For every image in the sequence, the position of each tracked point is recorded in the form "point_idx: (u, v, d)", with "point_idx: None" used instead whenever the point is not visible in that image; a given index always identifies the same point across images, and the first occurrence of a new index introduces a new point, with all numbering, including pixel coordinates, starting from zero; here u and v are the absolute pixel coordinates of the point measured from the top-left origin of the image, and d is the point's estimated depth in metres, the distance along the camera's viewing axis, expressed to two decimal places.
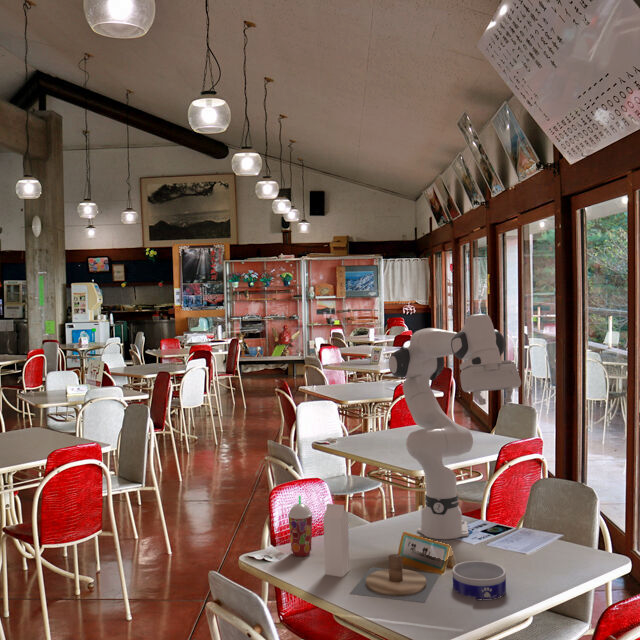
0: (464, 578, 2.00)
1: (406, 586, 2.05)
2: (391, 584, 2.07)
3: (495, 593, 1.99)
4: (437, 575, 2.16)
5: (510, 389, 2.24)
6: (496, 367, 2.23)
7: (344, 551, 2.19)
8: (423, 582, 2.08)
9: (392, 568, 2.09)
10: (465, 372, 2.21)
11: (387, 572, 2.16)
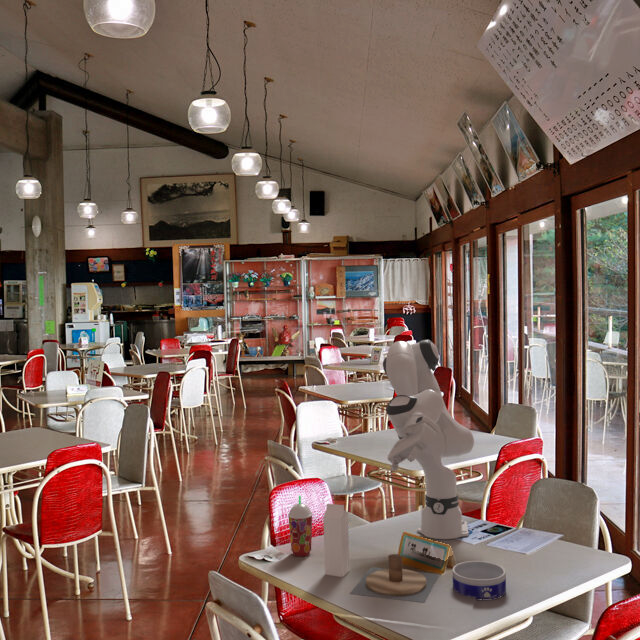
0: (464, 578, 2.00)
1: (406, 586, 2.05)
2: (391, 583, 2.07)
3: (495, 593, 1.99)
4: (437, 575, 2.16)
5: None
6: None
7: (344, 551, 2.19)
8: (423, 582, 2.08)
9: (392, 568, 2.09)
10: (434, 431, 2.13)
11: (387, 572, 2.16)
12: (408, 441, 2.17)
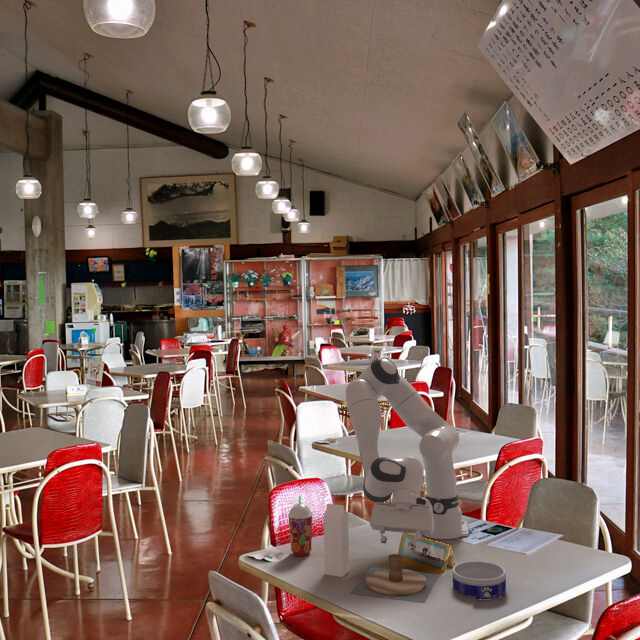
0: (464, 578, 2.00)
1: (406, 586, 2.05)
2: (391, 583, 2.07)
3: (495, 593, 1.99)
4: (437, 575, 2.16)
5: None
6: None
7: (344, 551, 2.19)
8: (423, 582, 2.08)
9: (392, 568, 2.09)
10: (433, 517, 2.21)
11: (387, 572, 2.16)
12: (405, 519, 2.20)
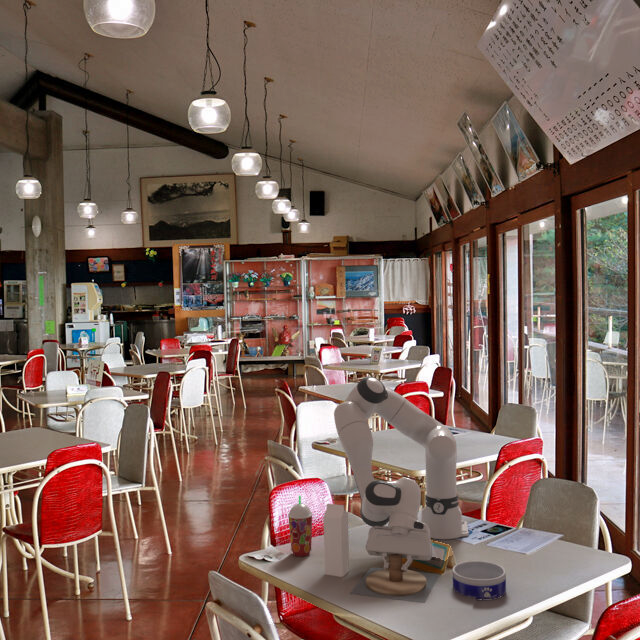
0: (464, 578, 2.00)
1: (406, 586, 2.05)
2: (391, 583, 2.07)
3: (495, 593, 1.99)
4: (437, 575, 2.16)
5: None
6: None
7: (344, 551, 2.19)
8: (423, 582, 2.08)
9: (392, 568, 2.09)
10: (431, 542, 2.14)
11: (387, 572, 2.16)
12: (402, 544, 2.13)
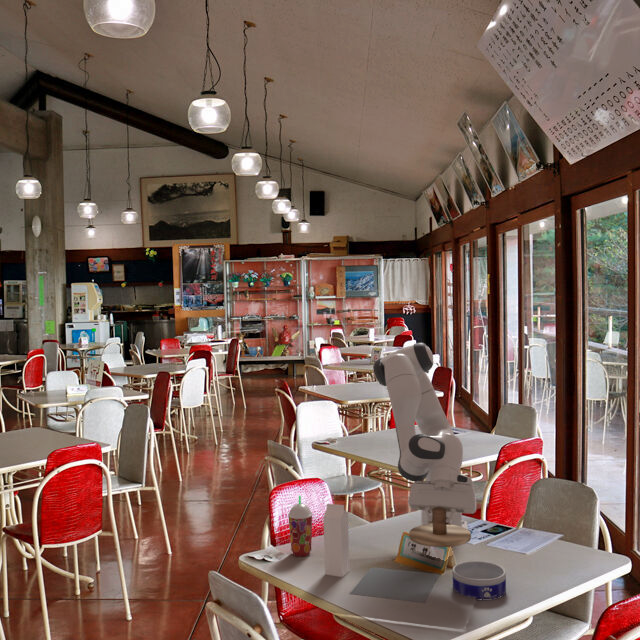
0: (464, 578, 2.00)
1: (451, 538, 2.02)
2: (435, 536, 2.04)
3: (495, 593, 1.99)
4: (437, 575, 2.16)
5: None
6: None
7: (344, 551, 2.19)
8: (468, 534, 2.05)
9: (436, 520, 2.06)
10: None
11: (430, 527, 2.13)
12: (446, 498, 2.10)
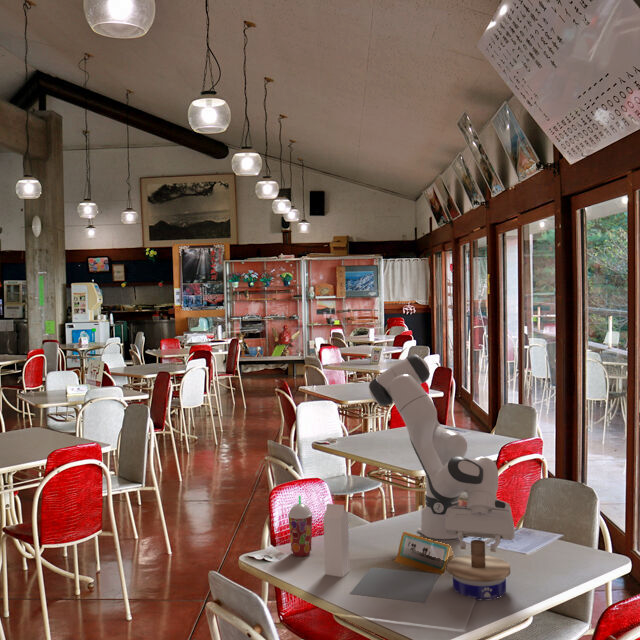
0: None
1: (492, 572, 2.00)
2: (474, 569, 2.03)
3: (495, 593, 1.99)
4: (437, 575, 2.16)
5: None
6: None
7: (344, 551, 2.19)
8: (507, 568, 2.03)
9: (475, 554, 2.04)
10: None
11: (467, 559, 2.11)
12: (484, 523, 2.08)
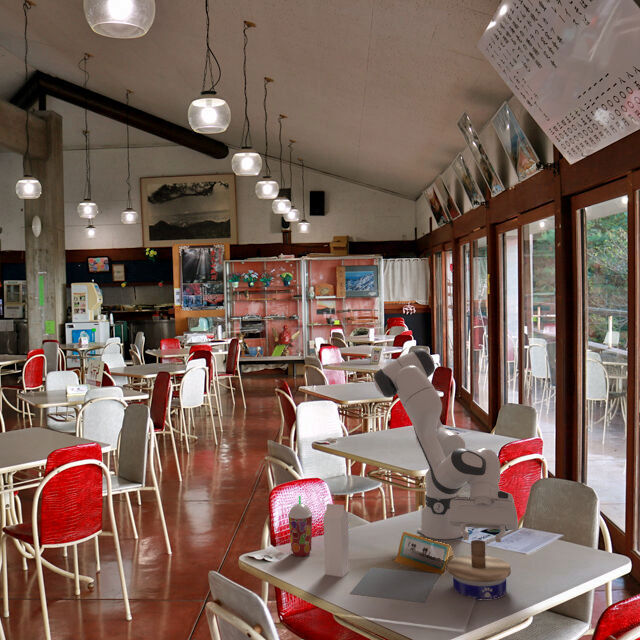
0: None
1: (492, 572, 2.00)
2: (475, 570, 2.02)
3: (495, 593, 1.99)
4: (437, 575, 2.16)
5: None
6: None
7: (344, 551, 2.19)
8: (508, 568, 2.03)
9: (476, 554, 2.04)
10: None
11: (467, 559, 2.11)
12: (487, 514, 2.10)
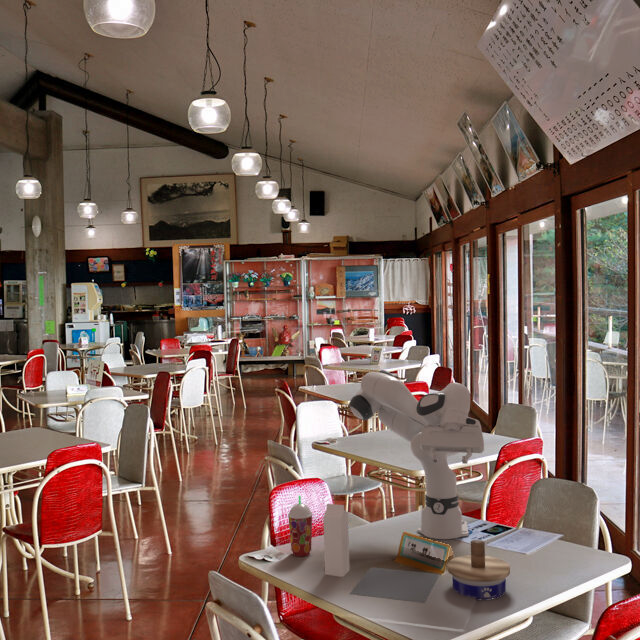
0: None
1: (491, 572, 2.00)
2: (474, 569, 2.03)
3: (495, 593, 1.99)
4: (437, 575, 2.16)
5: None
6: None
7: (344, 551, 2.19)
8: (507, 568, 2.03)
9: (475, 554, 2.04)
10: None
11: (467, 559, 2.11)
12: (455, 439, 2.24)
